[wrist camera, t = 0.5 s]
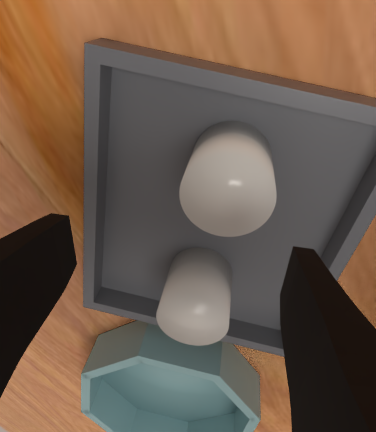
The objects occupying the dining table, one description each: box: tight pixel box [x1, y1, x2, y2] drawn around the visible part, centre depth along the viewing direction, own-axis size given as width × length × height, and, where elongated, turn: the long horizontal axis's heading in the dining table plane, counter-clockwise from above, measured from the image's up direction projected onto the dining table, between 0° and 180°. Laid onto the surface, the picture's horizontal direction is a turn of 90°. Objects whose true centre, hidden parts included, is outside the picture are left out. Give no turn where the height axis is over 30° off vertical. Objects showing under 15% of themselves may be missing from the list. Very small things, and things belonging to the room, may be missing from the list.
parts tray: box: [83, 38, 376, 357], centre depth 19 cm, size 14×16×2 cm
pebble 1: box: [179, 121, 277, 237], centre depth 16 cm, size 4×4×4 cm
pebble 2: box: [156, 248, 233, 346], centre depth 20 cm, size 4×4×4 cm
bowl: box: [81, 320, 261, 432], centre depth 28 cm, size 13×13×4 cm
